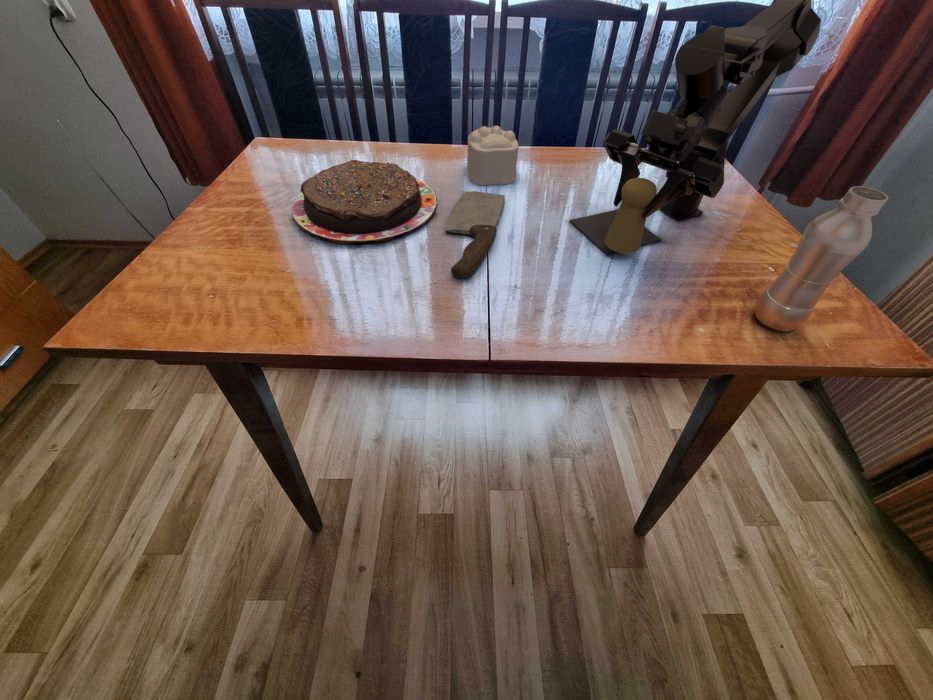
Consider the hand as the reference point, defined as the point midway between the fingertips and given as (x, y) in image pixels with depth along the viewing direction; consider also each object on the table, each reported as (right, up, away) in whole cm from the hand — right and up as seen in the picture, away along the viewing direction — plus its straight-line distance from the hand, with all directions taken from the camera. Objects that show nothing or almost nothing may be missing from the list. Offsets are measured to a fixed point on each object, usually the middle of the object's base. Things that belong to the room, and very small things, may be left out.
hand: (628, 211), depth 67 cm
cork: (+1, -4, +6) cm, 7 cm away
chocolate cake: (-46, +6, +17) cm, 49 cm away
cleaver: (-25, 0, +11) cm, 27 cm away
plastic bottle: (+20, -18, -4) cm, 27 cm away
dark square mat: (+2, 0, +12) cm, 12 cm away
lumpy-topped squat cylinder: (-21, +18, +29) cm, 40 cm away
